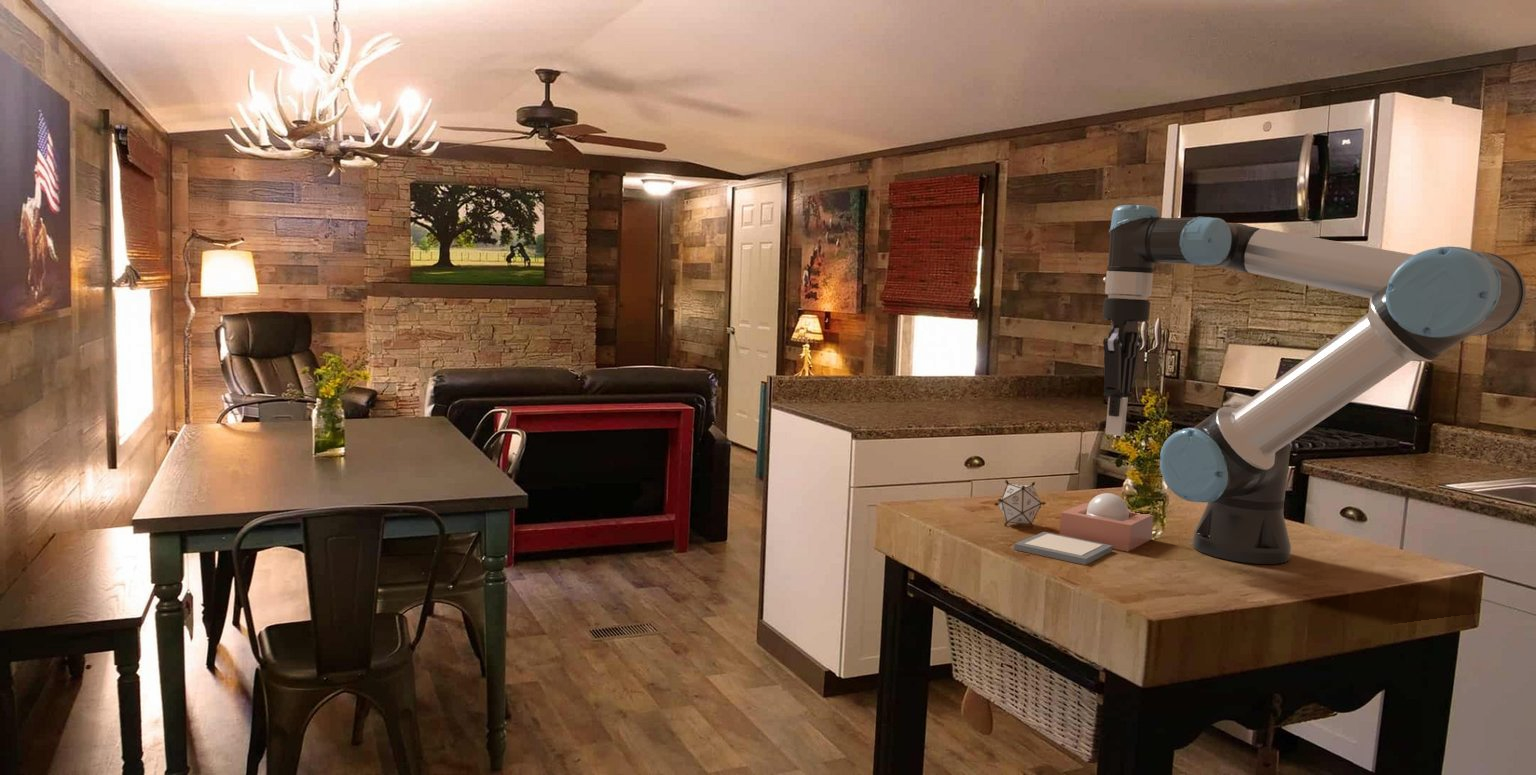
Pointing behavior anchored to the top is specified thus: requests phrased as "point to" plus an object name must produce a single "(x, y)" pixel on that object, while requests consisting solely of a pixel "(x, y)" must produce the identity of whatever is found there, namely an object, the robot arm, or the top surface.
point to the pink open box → (1107, 528)
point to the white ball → (1108, 507)
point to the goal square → (1063, 548)
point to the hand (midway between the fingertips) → (1114, 434)
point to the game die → (1019, 503)
